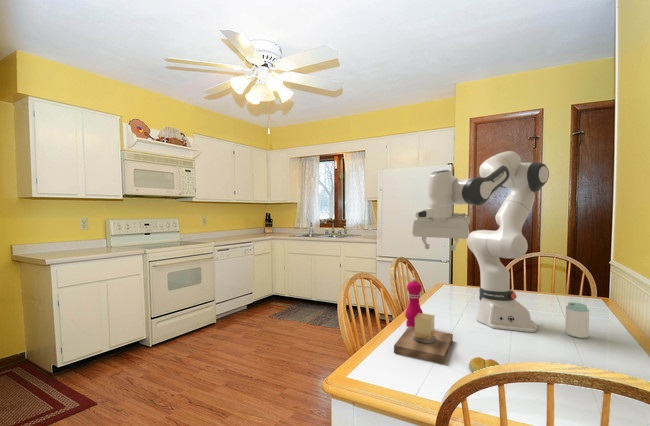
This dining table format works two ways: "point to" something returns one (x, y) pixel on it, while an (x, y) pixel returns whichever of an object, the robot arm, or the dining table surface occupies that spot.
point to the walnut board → (424, 345)
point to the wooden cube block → (424, 326)
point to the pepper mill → (413, 302)
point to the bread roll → (480, 364)
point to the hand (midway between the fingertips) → (439, 249)
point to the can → (577, 320)
